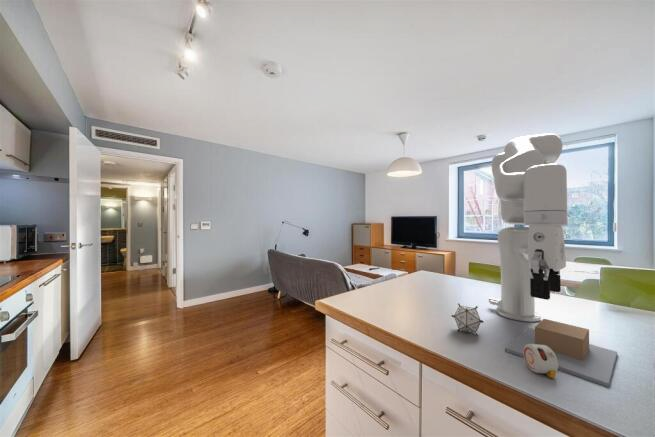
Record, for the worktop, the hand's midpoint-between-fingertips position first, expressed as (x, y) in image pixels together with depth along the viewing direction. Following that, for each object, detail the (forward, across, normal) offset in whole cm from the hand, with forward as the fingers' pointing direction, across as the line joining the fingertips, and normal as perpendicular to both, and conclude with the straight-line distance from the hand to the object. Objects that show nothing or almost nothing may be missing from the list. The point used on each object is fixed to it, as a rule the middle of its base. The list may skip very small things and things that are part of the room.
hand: (546, 294), depth 57 cm
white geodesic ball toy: (+17, +6, +20) cm, 27 cm away
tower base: (+17, +12, 0) cm, 21 cm away
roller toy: (+18, -2, +1) cm, 18 cm away
